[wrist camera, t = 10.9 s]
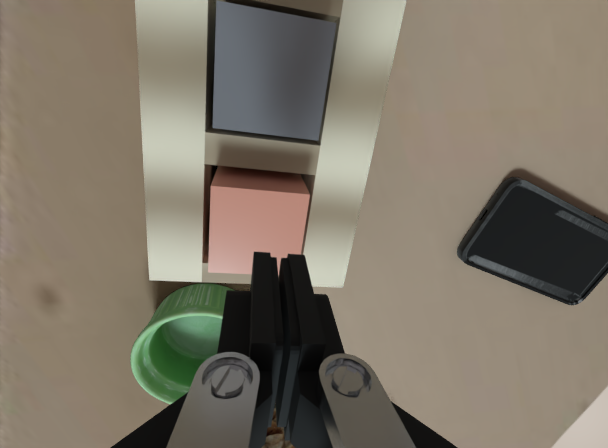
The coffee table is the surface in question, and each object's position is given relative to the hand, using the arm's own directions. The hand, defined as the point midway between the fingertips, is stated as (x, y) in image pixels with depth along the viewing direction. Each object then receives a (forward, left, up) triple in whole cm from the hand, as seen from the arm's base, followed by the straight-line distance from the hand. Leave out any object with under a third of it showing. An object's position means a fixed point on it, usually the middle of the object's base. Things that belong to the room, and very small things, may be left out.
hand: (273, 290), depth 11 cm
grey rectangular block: (-6, 0, -11) cm, 13 cm away
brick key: (+1, 0, -11) cm, 11 cm away
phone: (+4, +25, -14) cm, 28 cm away
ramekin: (+13, -3, -13) cm, 19 cm away
